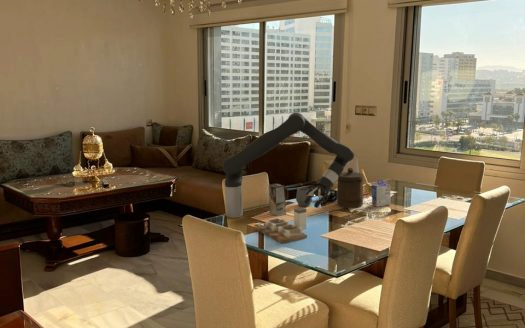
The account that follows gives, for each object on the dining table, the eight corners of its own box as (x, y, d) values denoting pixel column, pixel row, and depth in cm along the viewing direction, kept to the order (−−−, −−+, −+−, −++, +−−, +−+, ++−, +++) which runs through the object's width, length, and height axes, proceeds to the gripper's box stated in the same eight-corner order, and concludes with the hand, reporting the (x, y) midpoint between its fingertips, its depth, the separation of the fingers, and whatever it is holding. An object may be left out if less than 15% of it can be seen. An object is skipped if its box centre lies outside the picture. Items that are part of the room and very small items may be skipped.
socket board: (256, 229, 243) (256, 221, 242) (279, 224, 250) (279, 216, 249) (282, 243, 223) (281, 234, 222) (306, 237, 230) (306, 228, 229)
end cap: (338, 200, 294) (338, 189, 293) (333, 202, 289) (333, 191, 287) (324, 197, 300) (324, 187, 299) (318, 200, 295) (318, 189, 293)
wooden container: (367, 203, 284) (368, 167, 280) (354, 209, 273) (354, 171, 269) (345, 199, 294) (346, 164, 290) (332, 205, 283) (332, 168, 279)
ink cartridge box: (385, 202, 286) (385, 178, 283) (390, 205, 281) (391, 180, 278) (371, 204, 282) (371, 180, 279) (376, 207, 277) (377, 182, 274)
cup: (312, 203, 288) (312, 187, 286) (312, 207, 279) (312, 191, 277) (296, 203, 289) (296, 187, 287) (295, 207, 280) (295, 191, 278)
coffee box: (286, 214, 268) (286, 186, 265) (276, 216, 265) (275, 187, 262) (278, 210, 276) (277, 183, 273) (268, 212, 273) (267, 184, 270)
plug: (294, 227, 246) (294, 208, 244) (301, 225, 248) (301, 207, 246) (299, 229, 242) (299, 210, 240) (306, 228, 244) (306, 209, 242)
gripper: (315, 173, 254) (297, 197, 250) (332, 178, 242) (314, 204, 238) (323, 182, 257) (306, 206, 254) (340, 187, 245) (322, 212, 242)
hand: (310, 205), depth 246 cm, fingers open, 8 cm apart
